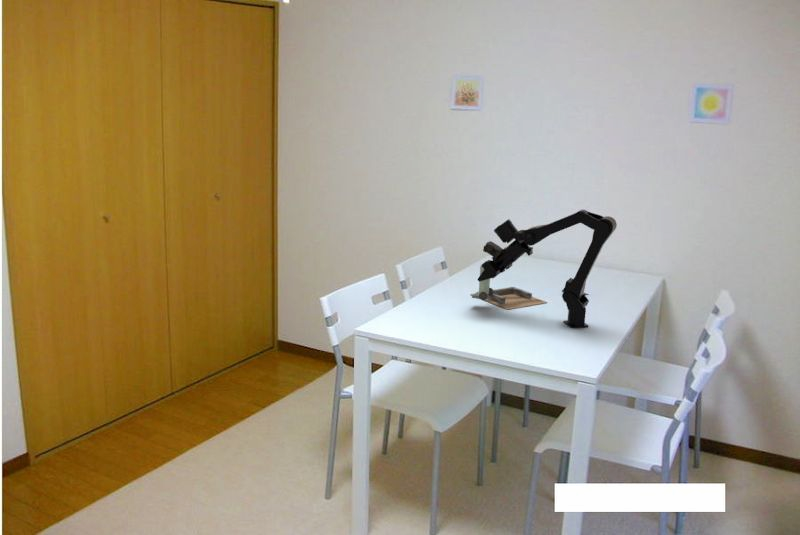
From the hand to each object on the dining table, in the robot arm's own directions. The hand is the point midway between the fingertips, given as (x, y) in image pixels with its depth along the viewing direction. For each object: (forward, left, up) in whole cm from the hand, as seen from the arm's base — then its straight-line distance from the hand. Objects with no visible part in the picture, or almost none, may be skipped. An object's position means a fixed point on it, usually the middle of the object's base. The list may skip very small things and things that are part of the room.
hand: (481, 278), depth 250 cm
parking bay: (+9, -16, -11) cm, 21 cm away
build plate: (+14, -46, -12) cm, 49 cm away
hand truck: (-1, -1, -7) cm, 7 cm away
